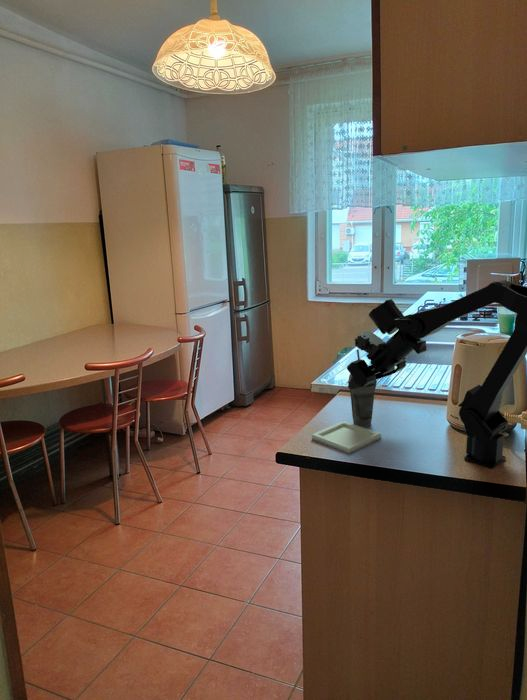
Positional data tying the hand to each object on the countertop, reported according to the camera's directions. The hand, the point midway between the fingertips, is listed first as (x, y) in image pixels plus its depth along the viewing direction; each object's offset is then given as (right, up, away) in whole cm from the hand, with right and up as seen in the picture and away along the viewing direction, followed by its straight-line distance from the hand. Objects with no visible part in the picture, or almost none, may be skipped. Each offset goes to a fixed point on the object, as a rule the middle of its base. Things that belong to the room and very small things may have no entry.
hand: (357, 384), depth 136 cm
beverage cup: (+1, -11, +2) cm, 11 cm away
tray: (-4, -13, -7) cm, 15 cm away
